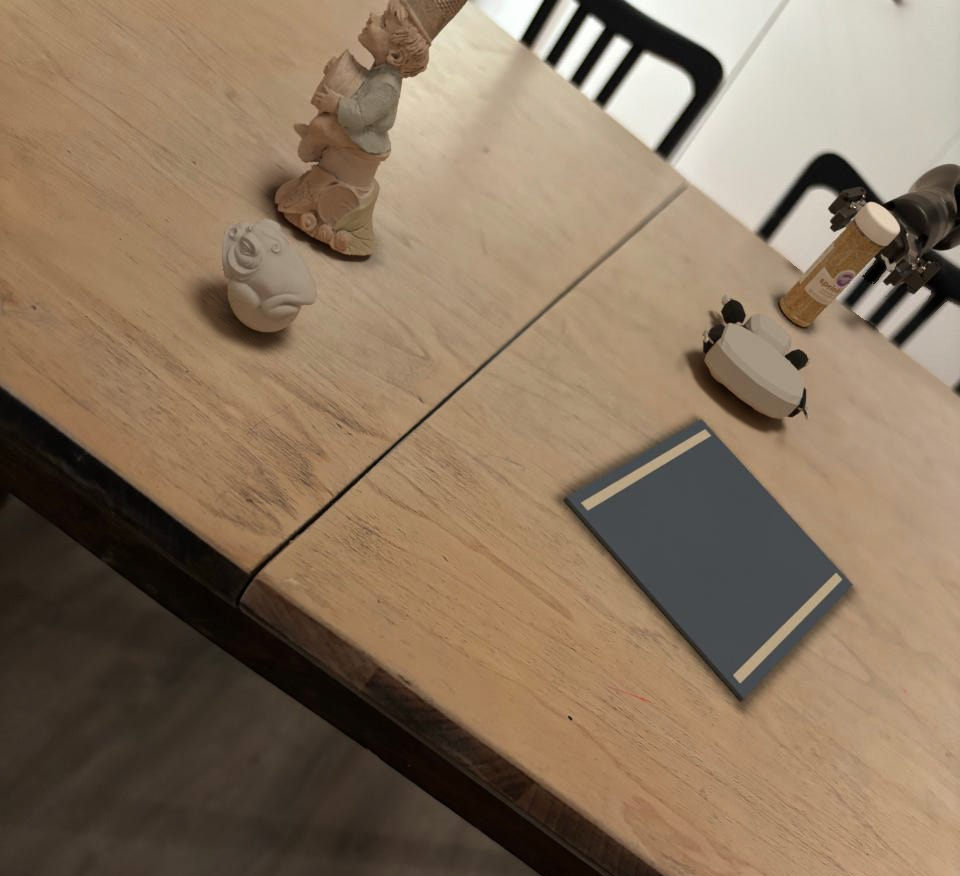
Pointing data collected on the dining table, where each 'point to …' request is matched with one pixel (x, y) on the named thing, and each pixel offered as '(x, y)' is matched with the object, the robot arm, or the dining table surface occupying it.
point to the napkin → (713, 553)
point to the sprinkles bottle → (840, 264)
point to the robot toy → (756, 362)
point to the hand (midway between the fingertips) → (864, 249)
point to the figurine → (359, 125)
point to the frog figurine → (265, 275)
